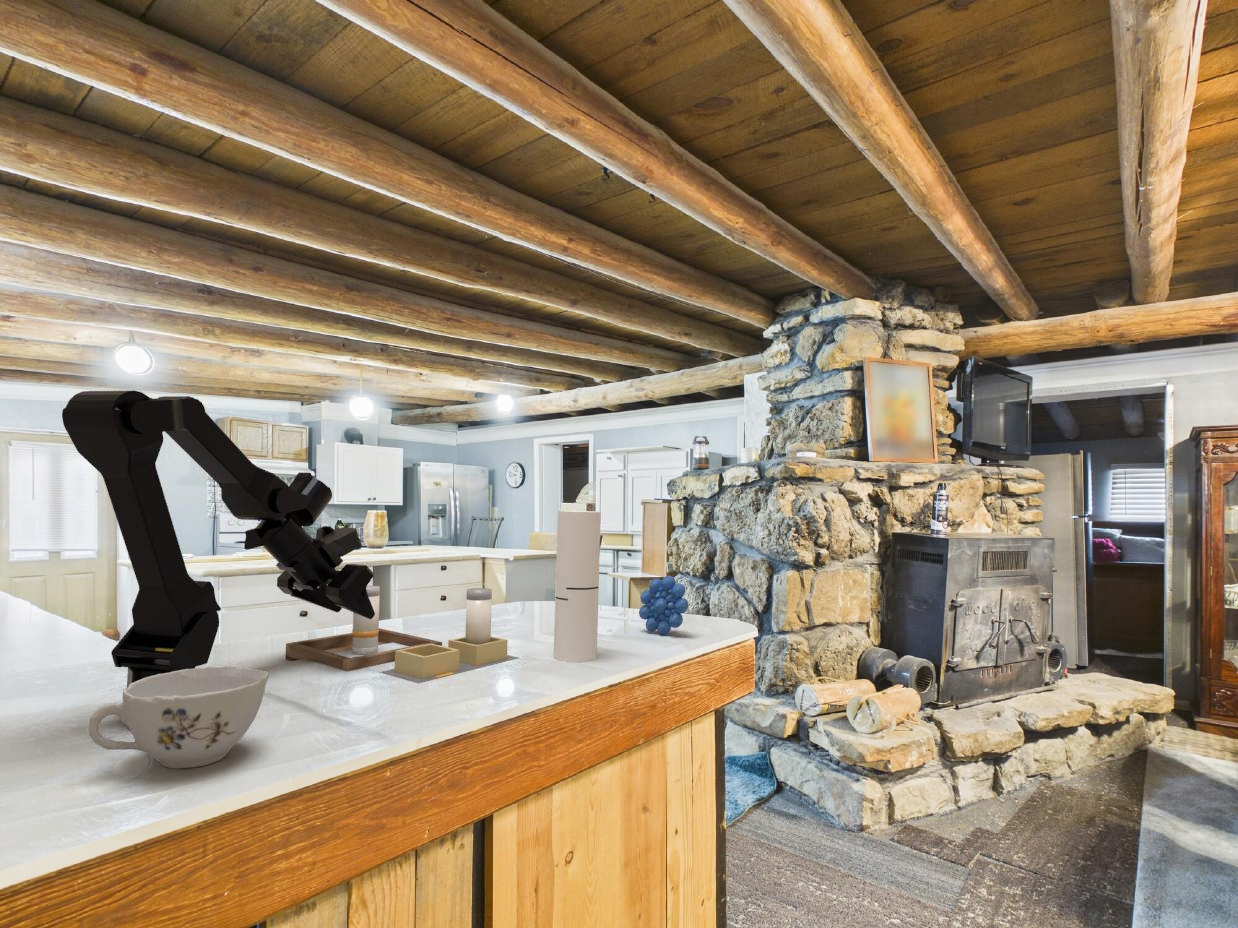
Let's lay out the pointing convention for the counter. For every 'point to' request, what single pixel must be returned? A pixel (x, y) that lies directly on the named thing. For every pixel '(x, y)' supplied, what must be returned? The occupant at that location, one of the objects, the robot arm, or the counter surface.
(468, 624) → the cylinder
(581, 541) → the cylindrical container
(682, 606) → the grapes
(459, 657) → the block
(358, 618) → the ball
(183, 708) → the teacup
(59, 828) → the counter surface
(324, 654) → the tray
